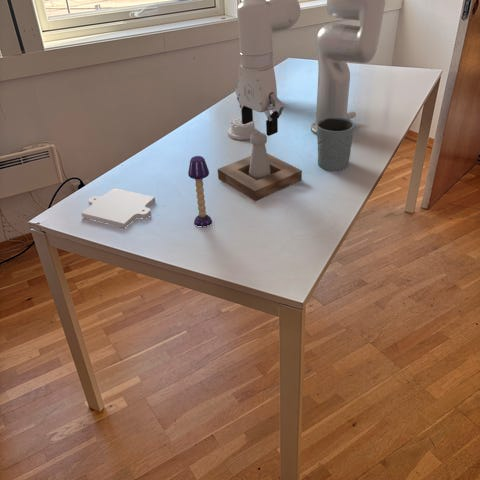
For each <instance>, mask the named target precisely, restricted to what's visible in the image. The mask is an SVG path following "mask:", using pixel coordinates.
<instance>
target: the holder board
mask: <svg viewBox="0 0 480 480" xmlns="http://www.w3.org/2000/svg"><path fill="white" fill-rule="evenodd" d="M267 156H268V161H269V166H270V175H269V176H267V177H264V178H262V179H260V180H255V179H253V178H252V177H251V176H250V175H249V168H250V161H251V155H249V156H247V157H245V158H243V159H239V160H236V161H235V162H232V163H230V164H227V165H225V166H222V167H219V168H217V177H218V180H220V181H221V182H223V183H224V184H226V185H227V186H230V187H231V188H233V189H234V190H236V191H238V192H240V193H241V194H242V195H244V196H246V197H247V198H249V199H251V200H252V201H254V202H257V201H260V200H261V199H264V198H266V197H268V196H271V195H273V194H274V193H277V192H279V191H282V190H284V189H286V188H288V187H290V186H292V185H294V184H296V183H299V182H301V181H302V179H303V178H302V177H303V176H302V175H303V173H302V172H303V171H302V170H301V169H300V168H298V167H296V166H293V165H292V164H290V163H288V162H285V161H284V160H282V159H279V158H278V157H276V156H274V155H272V154H270V153H268V152H267Z"/></svg>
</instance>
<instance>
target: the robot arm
mask: <svg viewBox="0 0 480 480" xmlns="http://www.w3.org/2000/svg"><path fill="white" fill-rule="evenodd" d="M385 5H386V0H326V12H327V13H328V15H329V16H330V17H332V18H336V19H342V20H352V21H359V23H360V25H353V24H346V23H328V24H326V25H324V26H322V27H321V28H320V29H319V31H318V32H317V35H316V38H315V39H316V42H315V44H316V45H315V47H316V54H317V66H318V68H317V69H318V72H317V73H318V74H317V75H318V76H317V93H316V94H317V95H316V112H315V113H316V116H315V121H314V122H312V124H311V125H310V130H311V132H312V133H313V134H315V135H317V122H318V121H320V120H321V119H324V118H330V117H341V118H346V119H349V120H352V119H353V118H356V116H357V113H356V112H355V111H350V112H349V113H348V106H349V105H348V104H349V97H350V96H349V95H350V92H349V91H350V83H351V72H350V71H351V70H350V68H349V66H348V62H349V63H356V64H368V63H370V62H371V61H372V60H373V59H374V58H375V55H376V52H377V50H378V49H377V48H378V45H379V40H380V33H381V28H382V23H383V19H384V18H383V17H384V12H385ZM300 15H301V5H300V2H299V0H240V3H239V4H238V6H237V23H238V24H237V25H238V26H237V27H238V28H237V30H238V39H239V40H238V41H239V42H238V43H239V44H238V45H239V56H240V57H239V60H240V63H239V66H238V72H237V73H238V75H237V87H235V88H234V91H235V94H236V96H237V97H236V99H237V102H238V103H239V105H238V106H239V109H241V111H240V112H241V117H242V124H247V123H250V122H252V121H254V115H253V111H255V112H258V113H264V114H265V116H266V118H267V119H266V120H265V128H266V129H265V130H266V132H265V133H266V134H265V135H266V136H268V137H269V136H272V135H274V134H277V133H278V132H279V131H278V130H279V129H278V128H279V125H278V124H279V123H278V122H279V121H278V119H279V118H280V116H281V115H282V113H283V110H284V108H285V107H284V103H283V102H282V101H281V100H280V99H279V98H278V89H277V79H276V73H275V67H274V66H273V65H274V57H273V51H274V50H273V33H274V32H283V31H286V30H289V29H291V28H292V27H294V26H295V25H297V22H298V21H299V18H300ZM270 111H272V113H271V112H270Z"/></svg>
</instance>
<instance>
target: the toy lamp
mask: <svg viewBox="0 0 480 480" xmlns="http://www.w3.org/2000/svg"><path fill="white" fill-rule="evenodd" d="M187 174H188V175H187V176H188V177H189V178H190V179H192V180H195V187H196V189H195V192H196V198H197V210H198V215H197V216H195V218H194V221H193V223H194V226H195V225H197V226H202V227H201V228H204V227H203V226H207V225H209V226H211V225H212V224H213V220H212V218H211V216H210V215H209V214H207V211H206V208H207V207H206V205H205V204H206V200H205V189H204V182H203V181H204V179H205V178H207V177H208V176H210V175H209V174H210V170H209V167H208V165H207V162H206V159H205V158H204V157H203V156H201V155H195V156H192V157H191V158H190V159H189V166H188V172H187ZM210 224H211V225H210ZM197 226H196V227H197ZM207 227H208V226H207Z"/></svg>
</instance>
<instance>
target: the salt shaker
mask: <svg viewBox="0 0 480 480" xmlns="http://www.w3.org/2000/svg"><path fill="white" fill-rule="evenodd" d="M267 136H268V135H267V134H265V133H264V132H261V131H260V132H259V131H258V132H257V133H253V134H252V135H251V137H250V139H249V141H250V144H251V145H252V147H251V155H250V156H251V161H250V168H249V175H248V176H250V177H252V178H253V179H255V180H260V179H262V178H264V177H267V176H269V175H271V174H270V166H269V161H268V156H267V153H268V152H267V148H266V144H267V141H268V137H267Z"/></svg>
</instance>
